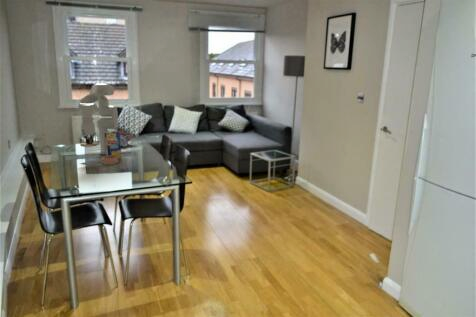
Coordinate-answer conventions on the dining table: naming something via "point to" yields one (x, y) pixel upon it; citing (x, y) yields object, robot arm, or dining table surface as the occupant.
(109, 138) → the blue food box
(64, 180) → the dining table surface
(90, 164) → the mat
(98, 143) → the lid
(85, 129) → the robot arm
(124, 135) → the colourful crumpled piece
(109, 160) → the bowl
